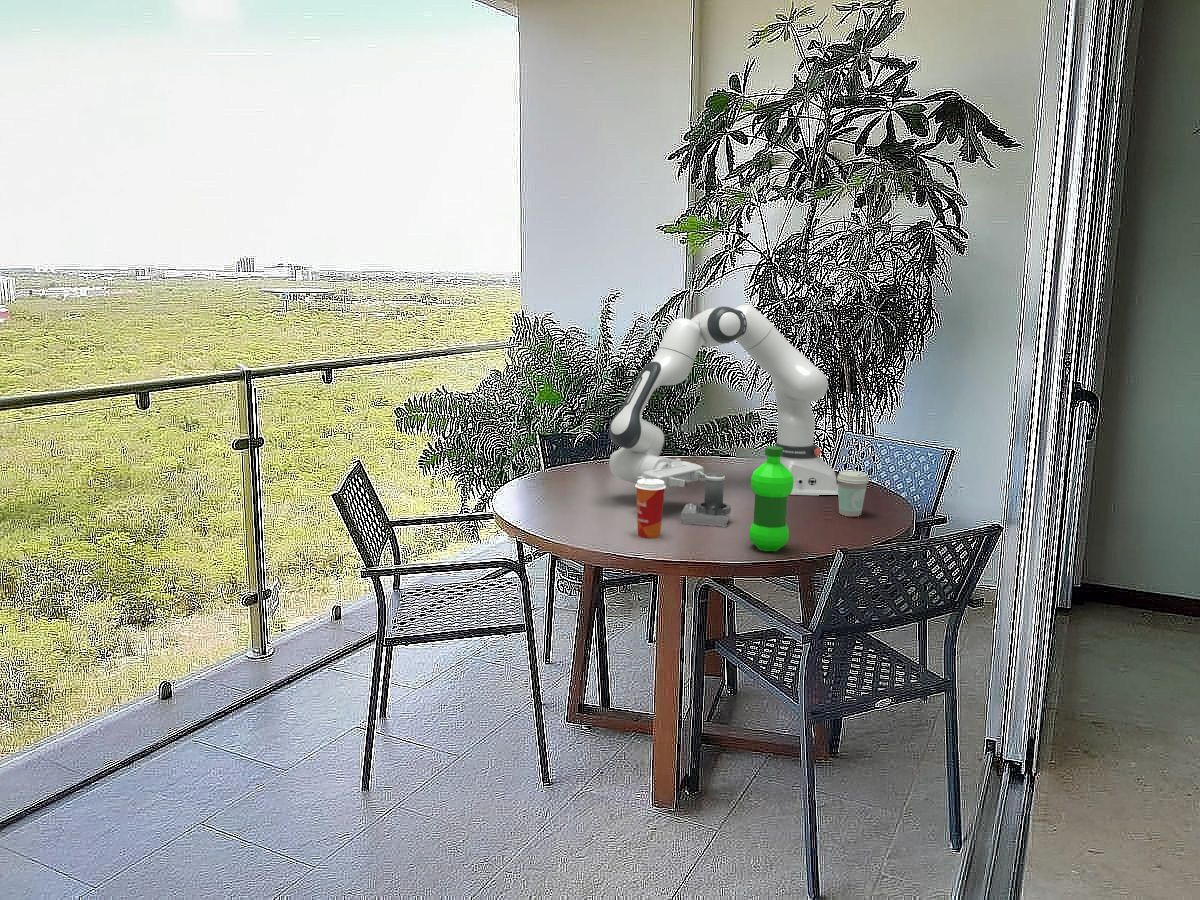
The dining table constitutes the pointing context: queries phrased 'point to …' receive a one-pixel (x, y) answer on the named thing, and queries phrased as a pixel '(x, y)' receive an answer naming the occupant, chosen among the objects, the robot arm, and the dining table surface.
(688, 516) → the camera body
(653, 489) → the paper cup
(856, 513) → the coffee cup
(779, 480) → the plastic bottle
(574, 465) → the dining table surface
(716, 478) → the lens
